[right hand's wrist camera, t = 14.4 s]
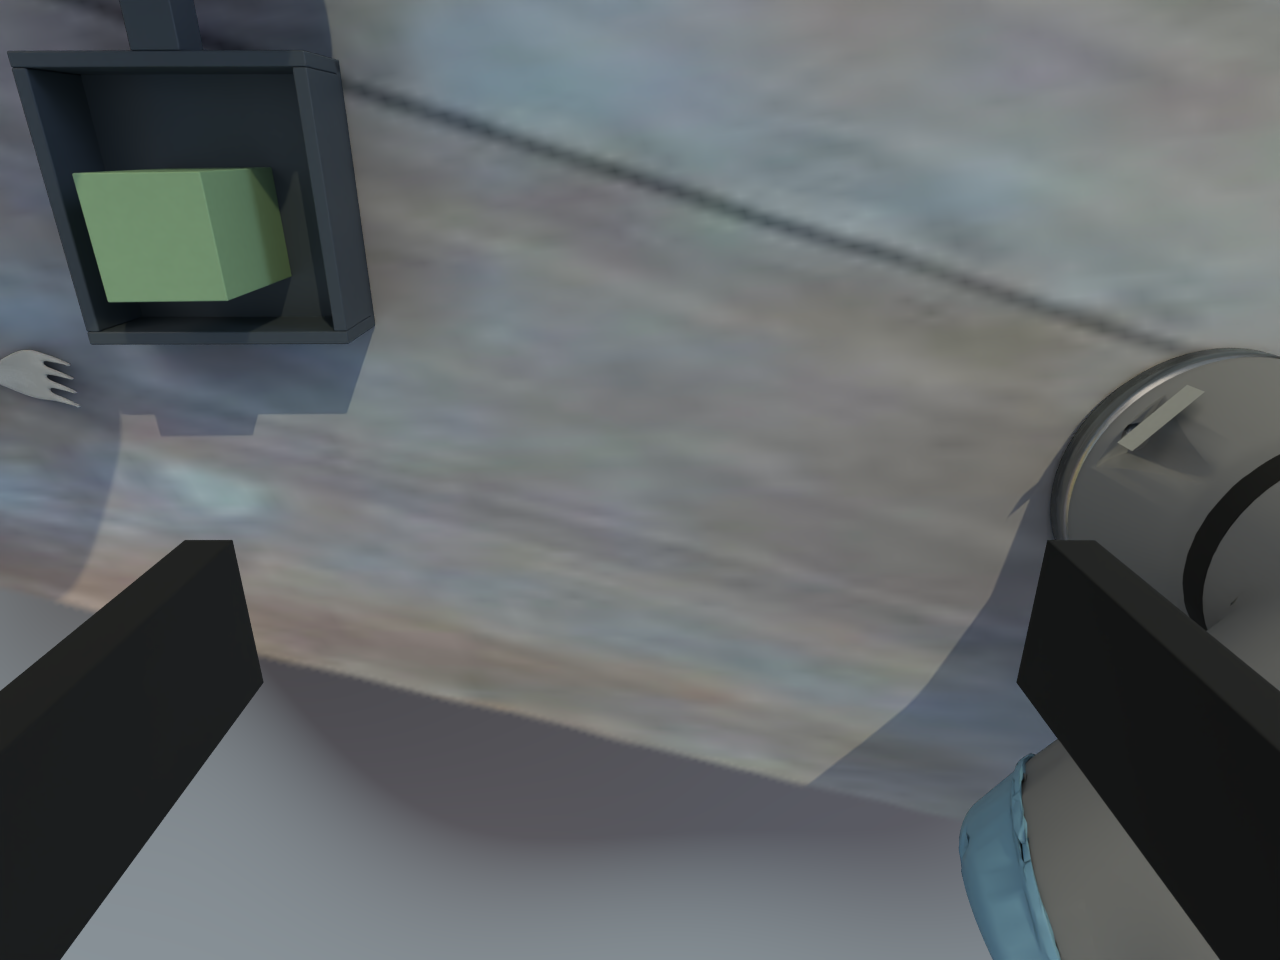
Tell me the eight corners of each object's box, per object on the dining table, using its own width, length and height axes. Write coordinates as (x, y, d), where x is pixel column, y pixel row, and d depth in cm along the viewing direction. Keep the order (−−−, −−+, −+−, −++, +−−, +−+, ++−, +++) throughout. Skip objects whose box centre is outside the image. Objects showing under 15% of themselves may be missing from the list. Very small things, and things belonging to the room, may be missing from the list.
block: (271, 167, 36) (199, 171, 30) (292, 276, 38) (227, 301, 32) (164, 168, 36) (70, 172, 30) (190, 277, 38) (107, 302, 32)
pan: (375, 325, 40) (348, 344, 36) (140, 326, 40) (90, 344, 36) (285, -325, 30) (236, -390, 26) (-27, -323, 30) (-121, -389, 26)
